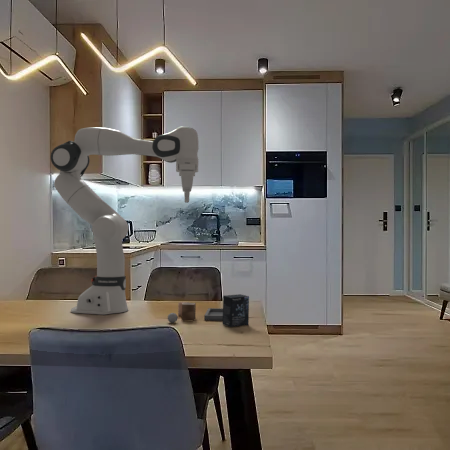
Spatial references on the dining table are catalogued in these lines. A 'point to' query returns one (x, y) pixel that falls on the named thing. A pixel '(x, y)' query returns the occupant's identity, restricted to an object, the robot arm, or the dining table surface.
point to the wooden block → (180, 308)
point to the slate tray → (214, 314)
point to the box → (235, 310)
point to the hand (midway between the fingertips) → (186, 202)
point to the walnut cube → (188, 311)
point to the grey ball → (172, 317)
